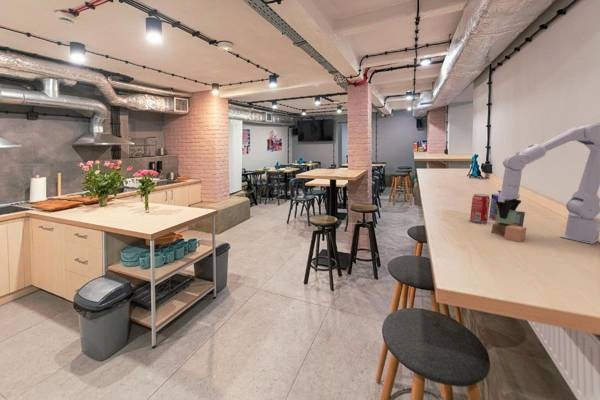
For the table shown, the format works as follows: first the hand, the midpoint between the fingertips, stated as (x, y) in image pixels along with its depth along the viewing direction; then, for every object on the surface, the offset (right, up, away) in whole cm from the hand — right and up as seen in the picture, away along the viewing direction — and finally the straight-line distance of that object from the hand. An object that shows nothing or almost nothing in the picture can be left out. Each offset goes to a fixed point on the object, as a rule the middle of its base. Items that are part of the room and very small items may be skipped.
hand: (506, 217), depth 121 cm
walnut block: (0, -7, +1) cm, 7 cm away
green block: (0, -2, 0) cm, 2 cm away
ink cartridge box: (+12, -3, +22) cm, 26 cm away
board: (+9, -5, +9) cm, 14 cm away
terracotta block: (-2, -8, -7) cm, 11 cm away
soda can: (0, -3, +19) cm, 19 cm away
